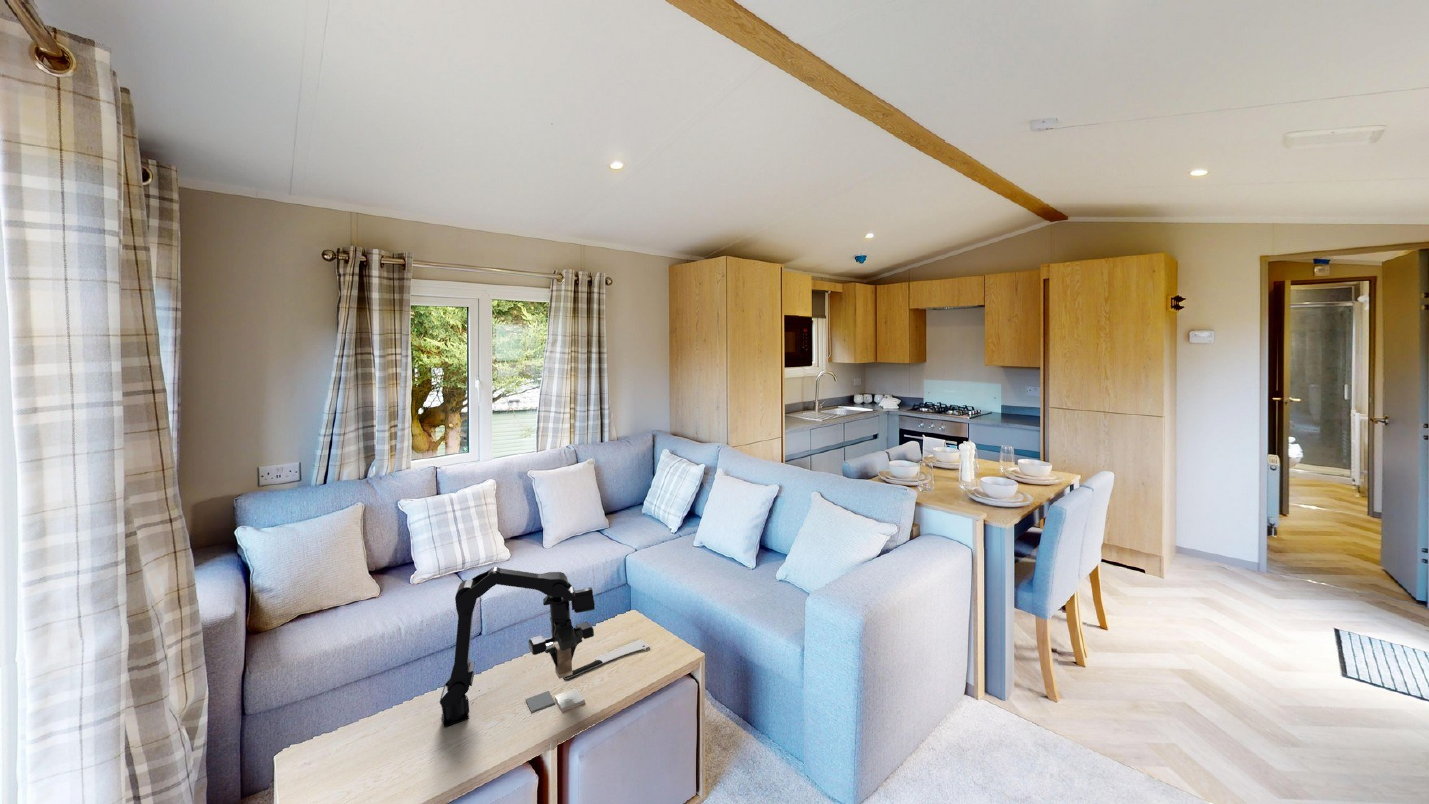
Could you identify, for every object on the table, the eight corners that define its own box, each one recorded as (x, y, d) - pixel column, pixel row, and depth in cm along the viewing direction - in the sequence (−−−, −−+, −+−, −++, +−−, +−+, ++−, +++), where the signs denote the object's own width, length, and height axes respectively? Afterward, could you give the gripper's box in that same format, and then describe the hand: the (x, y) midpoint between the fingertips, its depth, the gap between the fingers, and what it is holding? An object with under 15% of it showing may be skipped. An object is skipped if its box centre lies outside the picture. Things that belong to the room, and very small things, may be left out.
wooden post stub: (559, 679, 164) (557, 650, 163) (555, 672, 167) (553, 644, 166) (572, 674, 166) (570, 646, 165) (568, 668, 169) (566, 640, 168)
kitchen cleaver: (637, 635, 199) (651, 643, 191) (638, 640, 199) (651, 648, 191) (555, 667, 180) (566, 678, 172) (555, 673, 180) (567, 683, 172)
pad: (531, 712, 158) (531, 711, 158) (525, 700, 164) (525, 699, 164) (555, 703, 162) (555, 702, 162) (548, 691, 168) (548, 690, 168)
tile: (555, 701, 164) (561, 713, 158) (554, 696, 164) (561, 708, 158) (577, 692, 168) (585, 704, 162) (577, 687, 168) (584, 699, 162)
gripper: (535, 635, 153) (539, 687, 154) (598, 616, 163) (601, 666, 164) (526, 620, 163) (529, 669, 164) (586, 603, 172) (589, 649, 174)
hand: (563, 664), depth 166 cm, fingers closed on wooden post stub, 4 cm apart
